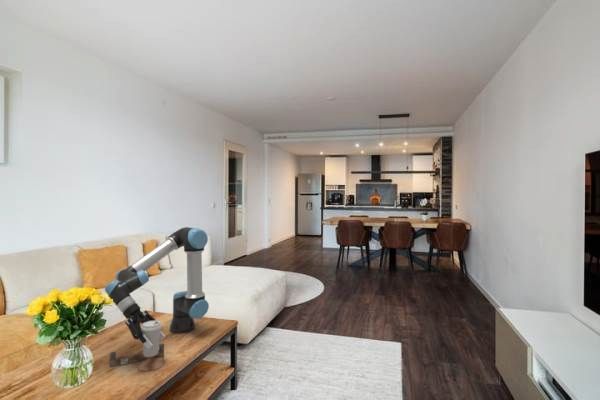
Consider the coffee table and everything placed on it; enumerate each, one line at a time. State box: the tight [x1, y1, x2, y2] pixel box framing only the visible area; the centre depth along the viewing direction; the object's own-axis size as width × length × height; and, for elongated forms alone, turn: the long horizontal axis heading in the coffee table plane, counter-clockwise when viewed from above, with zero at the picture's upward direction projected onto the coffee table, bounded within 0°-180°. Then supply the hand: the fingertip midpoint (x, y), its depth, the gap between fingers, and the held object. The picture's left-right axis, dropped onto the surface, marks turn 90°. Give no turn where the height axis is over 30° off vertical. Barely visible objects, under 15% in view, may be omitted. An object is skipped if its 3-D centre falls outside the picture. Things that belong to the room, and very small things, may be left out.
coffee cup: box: [141, 320, 163, 357], centre depth 159 cm, size 10×10×15 cm
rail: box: [109, 343, 166, 372], centre depth 158 cm, size 24×15×6 cm, turn 118°
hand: (156, 342), depth 158 cm, fingers closed on coffee cup, 9 cm apart
